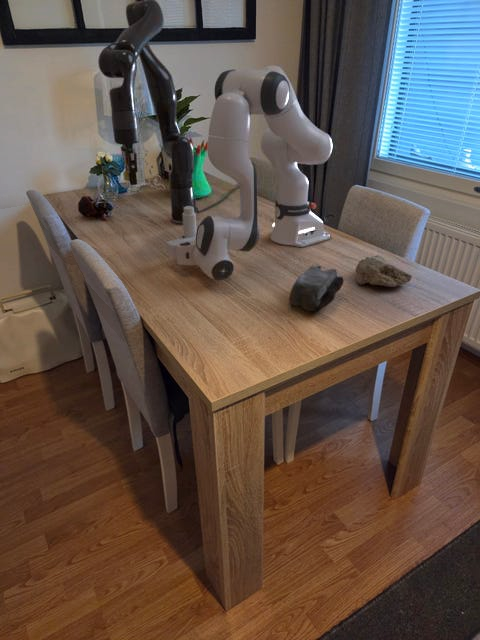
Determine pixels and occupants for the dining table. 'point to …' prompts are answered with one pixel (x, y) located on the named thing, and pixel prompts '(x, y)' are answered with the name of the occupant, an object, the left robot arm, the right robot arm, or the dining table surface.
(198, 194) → the toy
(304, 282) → the rock
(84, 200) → the toy
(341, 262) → the dining table surface
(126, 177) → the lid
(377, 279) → the artifact
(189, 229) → the white tall cylinder
